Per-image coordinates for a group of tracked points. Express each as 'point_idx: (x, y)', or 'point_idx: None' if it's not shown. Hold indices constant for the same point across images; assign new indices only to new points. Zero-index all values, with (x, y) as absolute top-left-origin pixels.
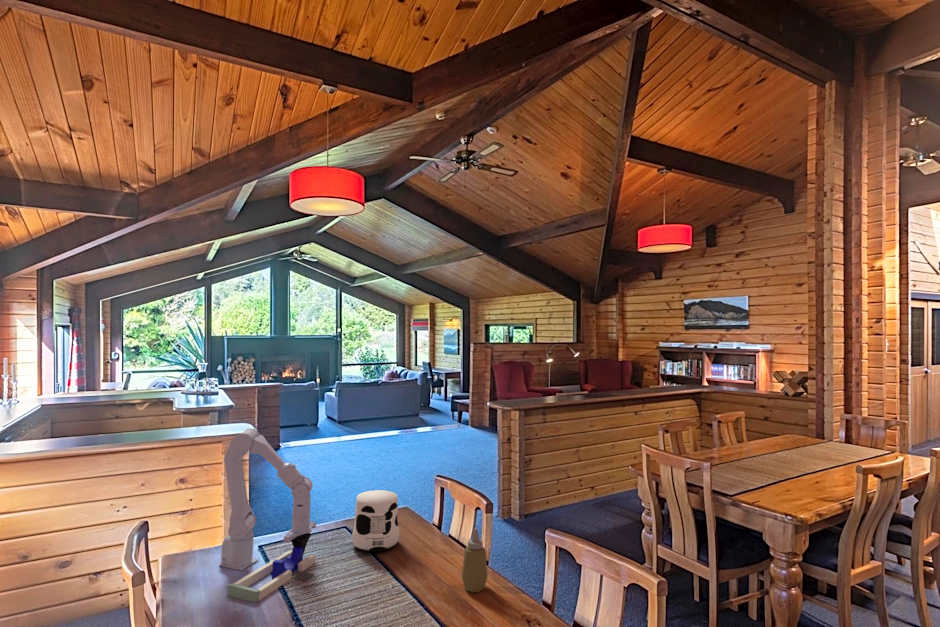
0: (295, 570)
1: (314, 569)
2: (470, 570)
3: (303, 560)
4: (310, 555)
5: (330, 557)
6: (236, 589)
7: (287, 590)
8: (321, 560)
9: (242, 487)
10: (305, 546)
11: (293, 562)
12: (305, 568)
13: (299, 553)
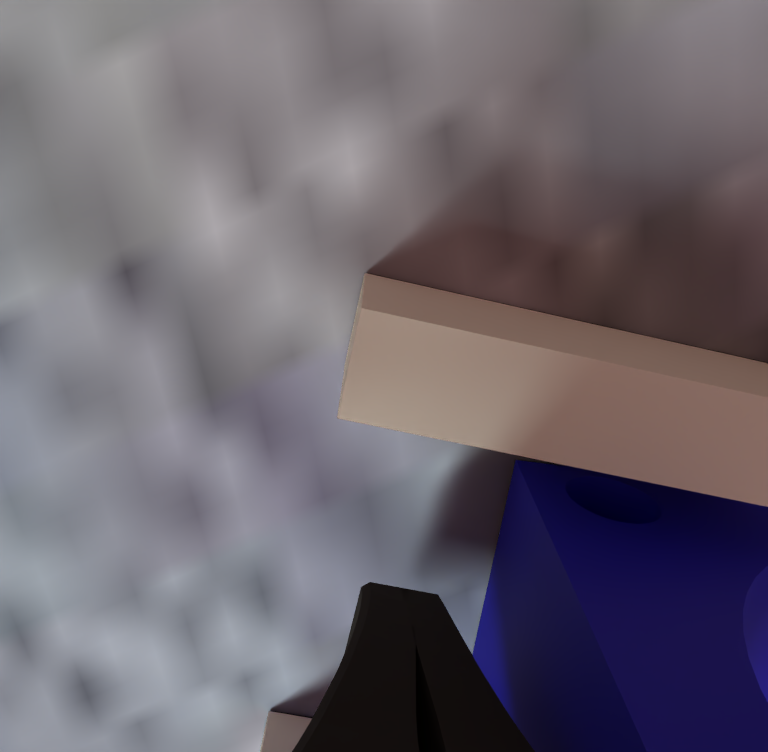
0: None
1: (660, 153)
2: None
3: (684, 467)
4: (395, 423)
5: (20, 26)
6: None
7: None
8: (223, 182)
9: None
10: (340, 711)
11: (751, 626)
12: (675, 344)
13: (746, 676)
